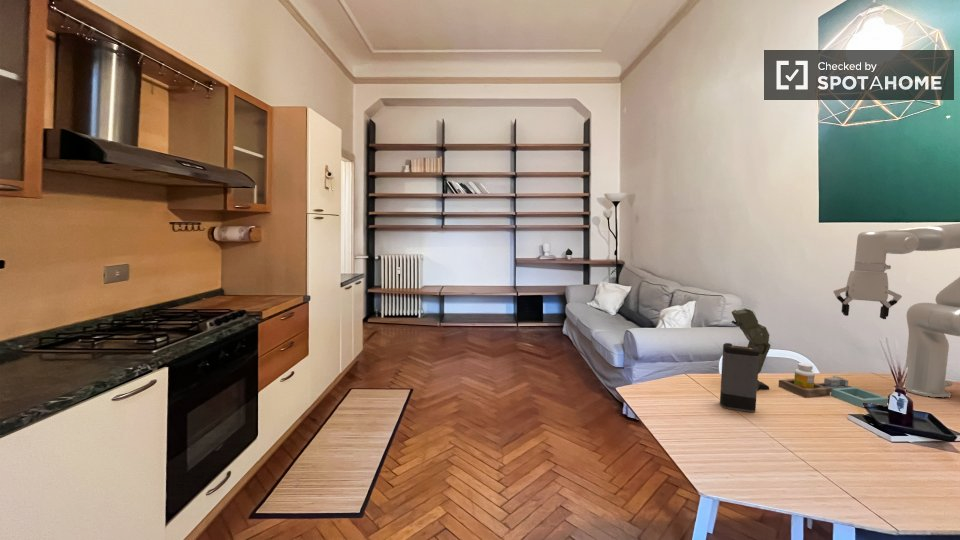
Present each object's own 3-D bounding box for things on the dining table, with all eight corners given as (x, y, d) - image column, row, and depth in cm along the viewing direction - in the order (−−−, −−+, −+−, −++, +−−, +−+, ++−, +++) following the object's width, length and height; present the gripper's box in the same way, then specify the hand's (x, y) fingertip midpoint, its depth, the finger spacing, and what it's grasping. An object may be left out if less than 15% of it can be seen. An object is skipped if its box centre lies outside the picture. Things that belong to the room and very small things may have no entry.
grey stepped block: (834, 383, 145) (835, 376, 145) (847, 388, 141) (848, 380, 141) (821, 384, 144) (821, 376, 144) (833, 389, 140) (834, 381, 140)
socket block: (801, 385, 146) (802, 378, 146) (829, 395, 137) (830, 388, 136) (778, 386, 145) (778, 379, 145) (804, 397, 135) (805, 390, 135)
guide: (837, 385, 146) (837, 381, 146) (851, 390, 141) (851, 386, 141) (809, 387, 144) (810, 383, 144) (823, 392, 139) (823, 388, 139)
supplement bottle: (789, 388, 143) (791, 362, 142) (803, 388, 144) (805, 361, 143) (803, 394, 138) (805, 367, 137) (817, 393, 138) (819, 366, 137)
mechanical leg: (770, 381, 148) (754, 303, 146) (782, 388, 140) (766, 307, 139) (731, 388, 149) (715, 311, 147) (742, 396, 142) (725, 315, 140)
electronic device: (752, 406, 128) (756, 345, 126) (756, 413, 123) (760, 350, 121) (719, 401, 132) (722, 342, 130) (721, 408, 127) (725, 346, 125)
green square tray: (854, 393, 138) (855, 386, 138) (888, 406, 129) (889, 398, 128) (830, 395, 137) (831, 388, 137) (863, 408, 127) (863, 400, 127)
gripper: (899, 268, 135) (893, 318, 137) (833, 265, 144) (828, 312, 145) (909, 270, 129) (903, 321, 130) (839, 267, 137) (834, 315, 139)
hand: (863, 316), depth 138 cm, fingers open, 9 cm apart
